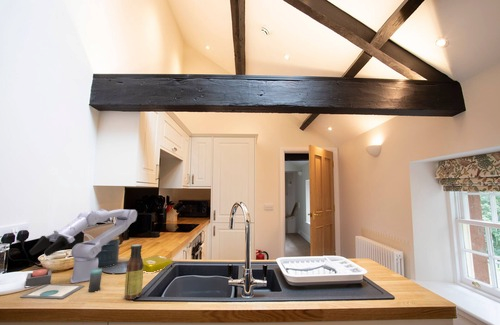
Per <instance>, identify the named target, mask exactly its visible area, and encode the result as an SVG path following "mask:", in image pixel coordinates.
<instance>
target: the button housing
mask: <svg viewBox="0 0 500 325" xmlns="http://www.w3.org/2000/svg"><path fill="white" fill-rule="evenodd" d="M52 272H53V271H52V270H51V269H50V270H47V275H44V276H38V277H32V273H33V272H29V273H27V275H26V278H25V282H24V283H25V284H24V287H25V286H33V287H39V286H45V285H47V284H51V281H52V280H51V279H52Z"/></svg>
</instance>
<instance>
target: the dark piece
mask: <svg viewBox="0 0 500 325" xmlns="http://www.w3.org/2000/svg"><path fill="white" fill-rule="evenodd" d="M102 273H103V268H98V269H93V270H91V273H90V280H88V281H89V282H88V289H87V290H88V293H96V292H95V291H97V292H99V291H100V290H101V283H102ZM99 289H100V290H99ZM98 290H99V291H98Z"/></svg>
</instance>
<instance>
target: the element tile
mask: <svg viewBox="0 0 500 325" xmlns="http://www.w3.org/2000/svg"><path fill="white" fill-rule="evenodd" d="M142 261H143V265H144V266H143V271H146V272H154V271H157V270H160V269H163V268H164V267H166V266H167V265H169V264H171V263H172V264H173V259H172V258H170V257H165V256H161V255H158V254H157V255H152V256H147V257H143V258H142Z"/></svg>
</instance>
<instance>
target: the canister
mask: <svg viewBox="0 0 500 325" xmlns="http://www.w3.org/2000/svg"><path fill="white" fill-rule="evenodd" d="M119 239H120V237H119V235H118V236H117V237H115V238H114V239H112V240H111V241H109V242H108V243H106V244H105V245H103V246H102V247H101V251H100V252H99V253H98V254H97V255H96V257H95V258H98V269H101V268H107V267H106V266H109V267H111V266H110V265H113V264H115V265H117V264H118V263H117V262H119V255H120V243H121V240H119ZM116 263H117V264H116ZM113 266H114V265H113Z"/></svg>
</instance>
